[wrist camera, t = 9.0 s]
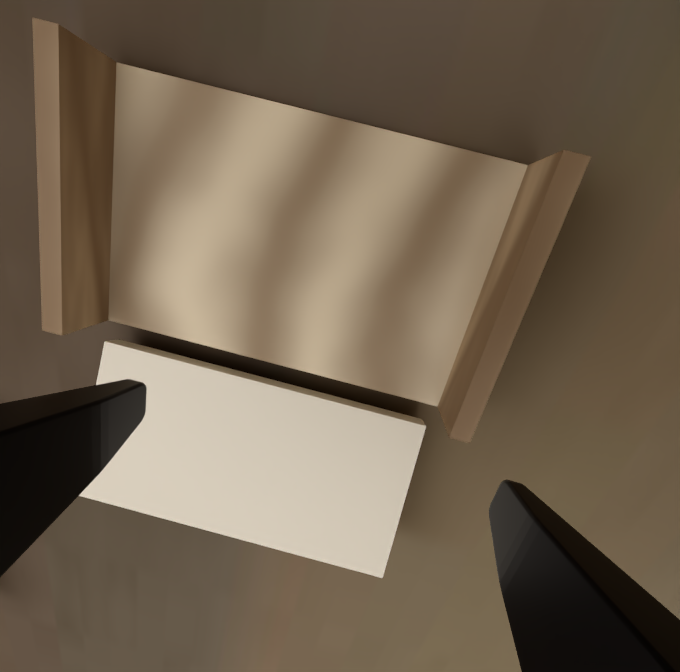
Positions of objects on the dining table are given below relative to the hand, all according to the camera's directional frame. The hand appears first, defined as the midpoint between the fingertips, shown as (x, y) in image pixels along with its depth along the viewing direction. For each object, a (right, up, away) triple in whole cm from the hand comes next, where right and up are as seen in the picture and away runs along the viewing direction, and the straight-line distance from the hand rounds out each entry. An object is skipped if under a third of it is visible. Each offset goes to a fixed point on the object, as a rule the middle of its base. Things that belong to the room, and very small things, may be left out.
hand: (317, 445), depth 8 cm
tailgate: (-4, 0, +11) cm, 11 cm away
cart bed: (-2, +7, +10) cm, 12 cm away
